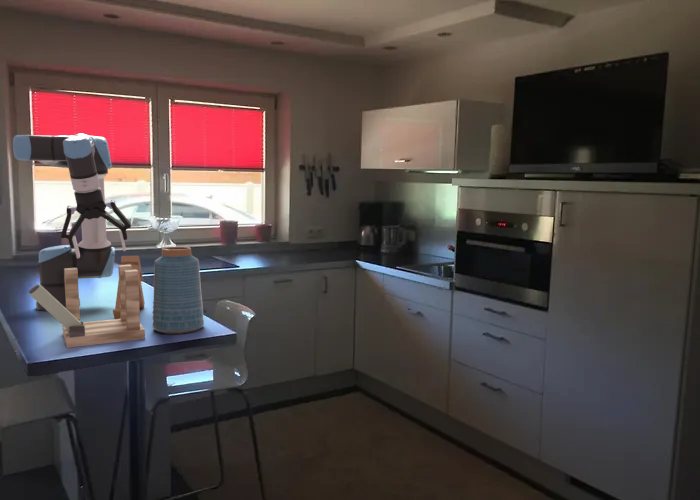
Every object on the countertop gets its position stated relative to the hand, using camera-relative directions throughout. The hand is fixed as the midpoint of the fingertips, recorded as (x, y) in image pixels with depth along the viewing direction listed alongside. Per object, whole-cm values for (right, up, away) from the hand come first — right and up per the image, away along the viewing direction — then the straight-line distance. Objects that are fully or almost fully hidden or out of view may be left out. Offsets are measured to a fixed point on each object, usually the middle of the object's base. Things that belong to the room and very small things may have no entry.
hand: (101, 253), depth 191 cm
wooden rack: (+1, -26, -1) cm, 26 cm away
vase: (+22, -25, +9) cm, 34 cm away
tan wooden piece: (0, -23, +27) cm, 35 cm away
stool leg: (-3, -22, -11) cm, 25 cm away
